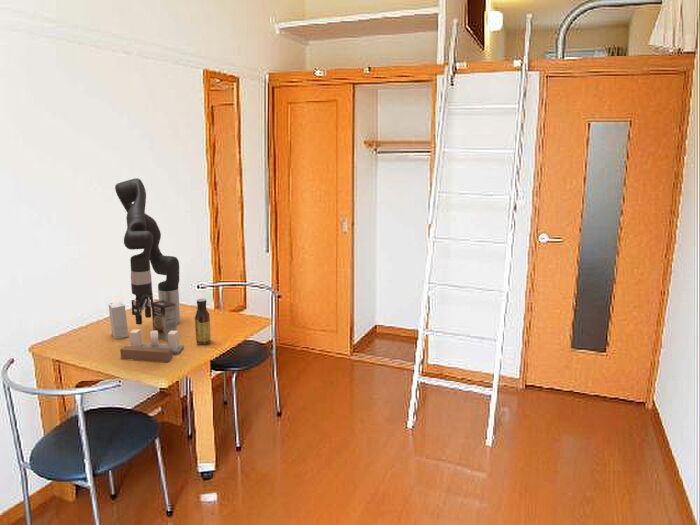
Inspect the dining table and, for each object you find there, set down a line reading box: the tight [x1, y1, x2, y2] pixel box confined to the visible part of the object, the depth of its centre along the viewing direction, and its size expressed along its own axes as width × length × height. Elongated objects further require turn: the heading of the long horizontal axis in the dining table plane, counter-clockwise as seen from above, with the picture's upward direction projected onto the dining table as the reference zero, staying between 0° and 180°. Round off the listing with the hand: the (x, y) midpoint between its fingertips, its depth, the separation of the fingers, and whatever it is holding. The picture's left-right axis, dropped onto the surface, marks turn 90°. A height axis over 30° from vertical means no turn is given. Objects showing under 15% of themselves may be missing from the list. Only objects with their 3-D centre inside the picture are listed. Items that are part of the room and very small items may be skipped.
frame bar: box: [119, 345, 173, 363], centre depth 217 cm, size 4×20×4 cm, turn 83°
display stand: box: [129, 328, 185, 356], centre depth 224 cm, size 7×22×8 cm, turn 87°
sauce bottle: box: [194, 298, 212, 345], centre depth 233 cm, size 7×6×20 cm
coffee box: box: [151, 300, 178, 342], centre depth 239 cm, size 9×6×16 cm
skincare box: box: [108, 301, 129, 340], centre depth 240 cm, size 8×6×15 cm
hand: (143, 320), depth 214 cm, fingers open, 8 cm apart
